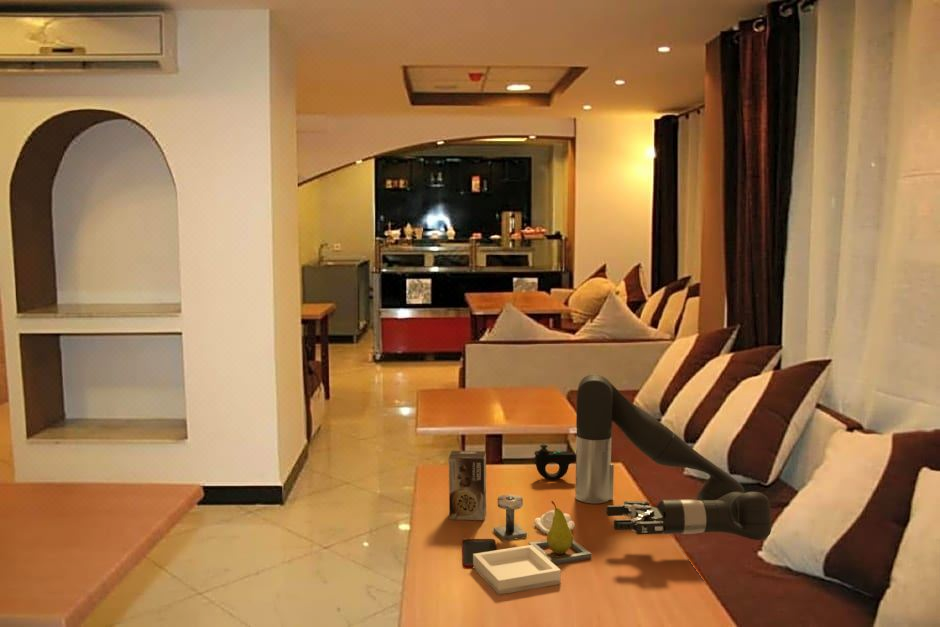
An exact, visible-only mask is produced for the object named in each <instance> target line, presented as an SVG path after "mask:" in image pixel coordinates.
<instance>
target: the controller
mask: <svg viewBox="0 0 940 627" xmlns="http://www.w3.org/2000/svg"><path fill="white" fill-rule="evenodd" d="M539 447H540V448H541V449H539V450H535V451H534V456H535V457H534V458H533V461H534V462H533V464H534V465H535V466H536V469H537V470H536V471H537V472H538V473H539V475H540V476H541V477H543V478H544V479H546V480H549V481H557V480H559V479H561V478H563V477H564V476H565V475H567V472H568V471H569V470H568V469H569V466H570V465H571V464H572V463H574V462H575V463H576V451H560V450H559V451H556V450H552V451H551V450H548V449H547V448H548V444H540V446H539ZM551 463H556V464H557V465H558V470H557V471H556V472H555V473H550V472H548V471H547V470H546V468H547V466H548V464H551Z"/></svg>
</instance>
